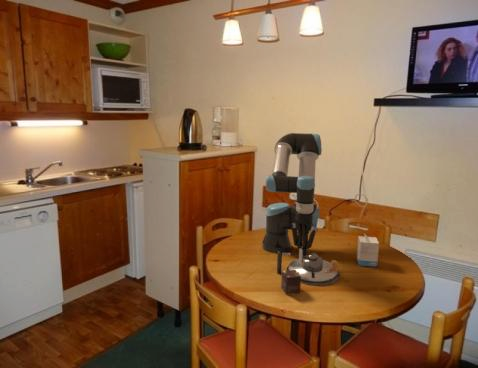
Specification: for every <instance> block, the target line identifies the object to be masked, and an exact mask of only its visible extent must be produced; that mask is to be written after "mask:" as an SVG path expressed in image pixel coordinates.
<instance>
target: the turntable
mask: <svg viewBox="0 0 478 368" xmlns="http://www.w3.org/2000/svg"><path fill="white" fill-rule="evenodd" d="M288 266H289V270H296V271H297V272H298V274H299V275H300V276H301V280H302V281H306V282H311V283H325V282H329V281H332V280H334V279H335V278H336V277H337V271H338V268H337V266H338V261H337V260H335V259H331V262H329V261H326V260H324V259H323V269H322V270H321V271H319V272H309V271H306V270H304V269H303V268H302V263H300V262H299V258H297V259H293V260H291V261H290V262H289V264H288Z"/></svg>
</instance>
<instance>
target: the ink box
mask: <svg viewBox="0 0 478 368" xmlns="http://www.w3.org/2000/svg"><path fill="white" fill-rule="evenodd" d="M363 234H364V236H360V235H358V237H357V249H356V260H357V264H358V266H363V267H364V266H365V267H376V268H377V267H378V263H379V262H378V259H379V249H380V242H379V240H378V238H377V237H376V236H368V235H366V233H363Z"/></svg>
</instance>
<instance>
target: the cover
mask: <svg viewBox="0 0 478 368" xmlns="http://www.w3.org/2000/svg"><path fill="white" fill-rule="evenodd" d="M323 260H324V258H323V257H321V256H319V255H318V253H315V252H310V253H308V254H307V255H306V256H303V258H302V268H303V269H304V270H306V271H309V272H319V271H321V270H322V269H323Z"/></svg>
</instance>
